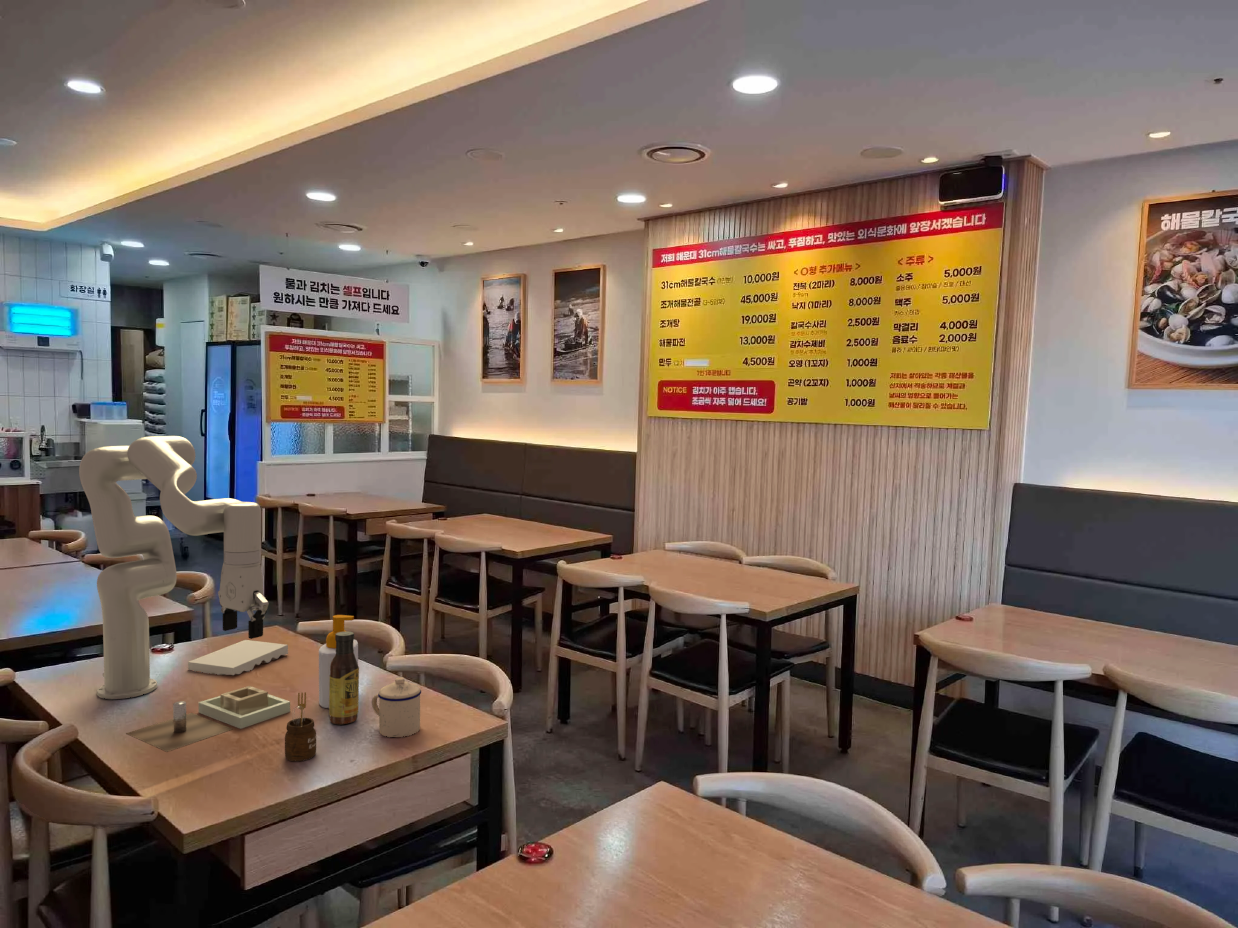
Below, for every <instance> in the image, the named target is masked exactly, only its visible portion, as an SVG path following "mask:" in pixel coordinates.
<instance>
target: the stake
mask: <svg viewBox="0 0 1238 928" xmlns="http://www.w3.org/2000/svg"><path fill="white" fill-rule="evenodd" d="M172 710H173V711H172V715H173V717H172V719H173V723H174V733H183V732H185V731H187V724H186V714H187V702H186V701H183V700H182V701H181V700H180V701H176V702H174V703H172Z"/></svg>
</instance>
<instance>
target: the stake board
mask: <svg viewBox="0 0 1238 928" xmlns="http://www.w3.org/2000/svg"><path fill="white" fill-rule="evenodd" d="M186 724H187V731H185V732H183V733H174V723H173V718H171V719H167V720H163V721H161V722H158V723H157V722H156V723H154V724H152V725H151V724H150V725H147V726H145V727H141V728H138V729H135V730H131V731H129V732H126V733H125V734H126V735H128V736H131V737H133V738H135V739H138V740H139V741H142V742H144V743H145V744H148V745H150V746H152V747H155V748H157V749H159V750H162V751H164V752H166V753H168V752H171V751H174V750H177V749H180V748H183V747H186V746H189V745H192V744H194V743H198V742H201V741H204V740H206V739H210V738H212V737H215V736H218V735H221V734H223V733H226V732H227V733H228V732H230V731H233V730H234V728H232V727H229V726H227V725H224V724H222V723H219V722H216V721H213V720H211V719H208V718H206V717H203V716H201V715H199V714H196V713H193V712H189V713H186Z"/></svg>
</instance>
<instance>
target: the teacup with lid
mask: <svg viewBox="0 0 1238 928" xmlns="http://www.w3.org/2000/svg"><path fill="white" fill-rule="evenodd" d="M421 694H422V690H421V687H420V686H419V685H417V684H415V683H411V682H409V681H406V680H405V678H404V677H396V678H395V679H394V681H393V682H391V683H390V684H386V685H385V686H383V687H381V688H380V689H379V690H378V693H377V694H375V695H374V696H372V698H371V706H372V709H373V711H374V713H375V715H377V716H378V717H379V720H378V723H379V725H378V728H379V731H378V732H379V733H380V735H382V736H383V737H386V736H387V737H386V738H390V737H401V738H406V737H405V736H407V737H410V736H413V735H415V734H417V733H418V732H419V731H420V728H421ZM378 700H379V701H378ZM378 704H379V705H378ZM416 732H417V733H416ZM414 733H415V734H414ZM412 734H413V735H412ZM409 735H410V736H409ZM403 736H404V737H403Z"/></svg>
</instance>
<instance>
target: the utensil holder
mask: <svg viewBox="0 0 1238 928" xmlns="http://www.w3.org/2000/svg"><path fill="white" fill-rule="evenodd" d="M297 693H298V694H297V706H296V705H295V707H294V709H293V710H291V711H292V712H291V713H293V714H296V712H295V711H296V709H298V710H299V711H300V717H296V718H295V719H294V716H291V717H292V719H291V720H289V721H288V722H287V723H286V733H285V734H284V756H285V758H286V760H288V761H289V760H290V761H291V762H304V761H308V760H310V759H312V758H313V757H315V755H316V754H317V732H316V729H315V721H314V719H312V718H310V717H304V714H306V712H305V708H306V706H307V692H304V693H303V692H301V693H300V692H297ZM303 700H304V701H303ZM303 760H304V761H303Z"/></svg>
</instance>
